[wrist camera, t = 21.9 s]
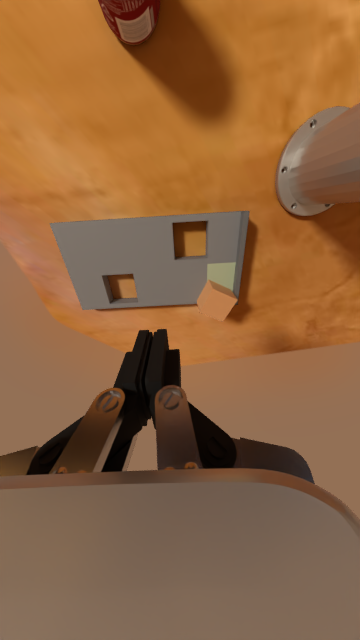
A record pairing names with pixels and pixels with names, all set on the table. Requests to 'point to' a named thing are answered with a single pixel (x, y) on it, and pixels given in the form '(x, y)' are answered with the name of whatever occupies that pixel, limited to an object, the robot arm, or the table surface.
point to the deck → (150, 258)
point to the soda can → (131, 18)
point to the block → (216, 301)
